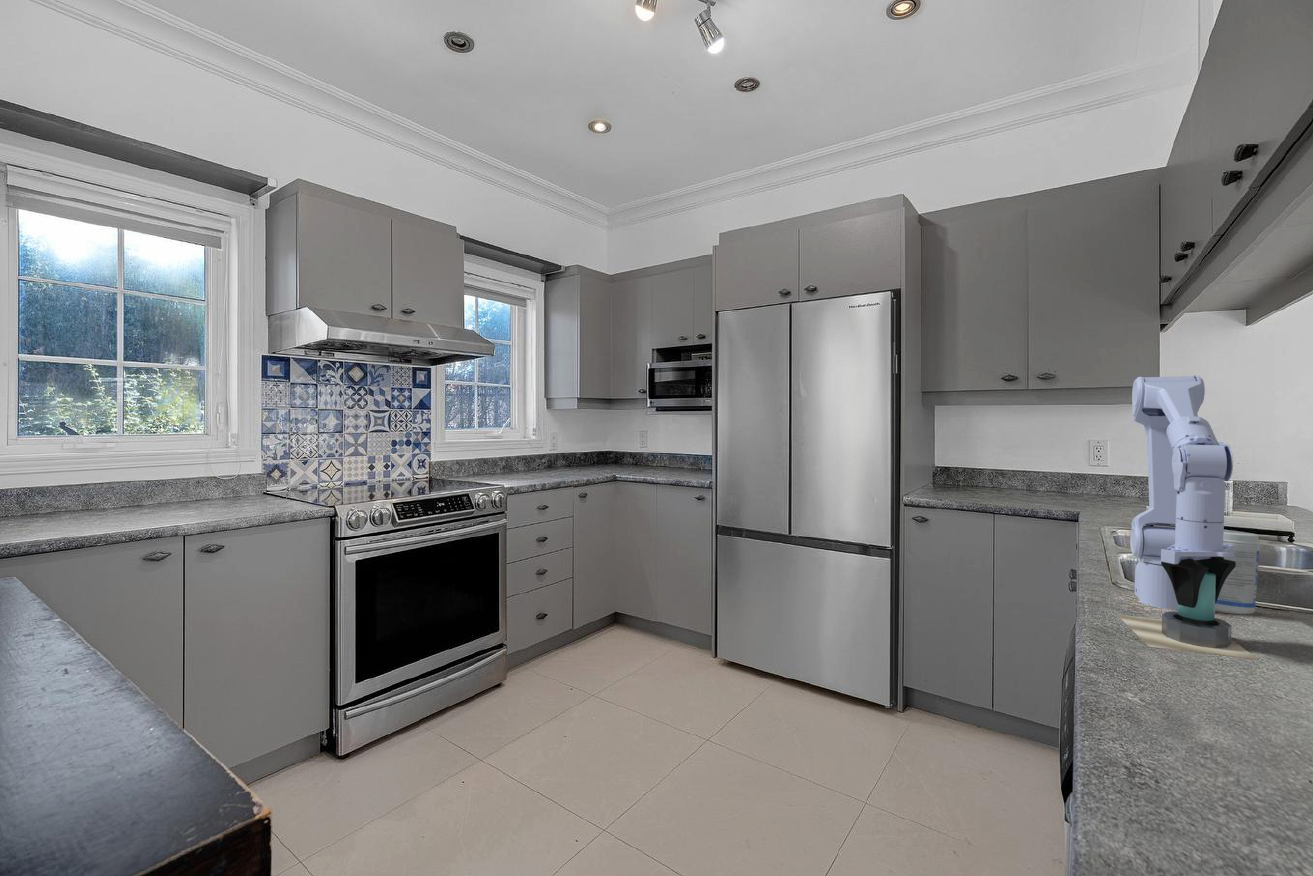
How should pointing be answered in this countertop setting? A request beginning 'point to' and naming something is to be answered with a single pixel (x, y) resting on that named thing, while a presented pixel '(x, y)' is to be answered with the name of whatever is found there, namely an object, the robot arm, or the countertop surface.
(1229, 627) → the grey faceted ring
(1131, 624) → the pale board
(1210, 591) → the teal plug
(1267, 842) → the countertop surface
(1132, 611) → the countertop surface
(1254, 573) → the supplement tub
